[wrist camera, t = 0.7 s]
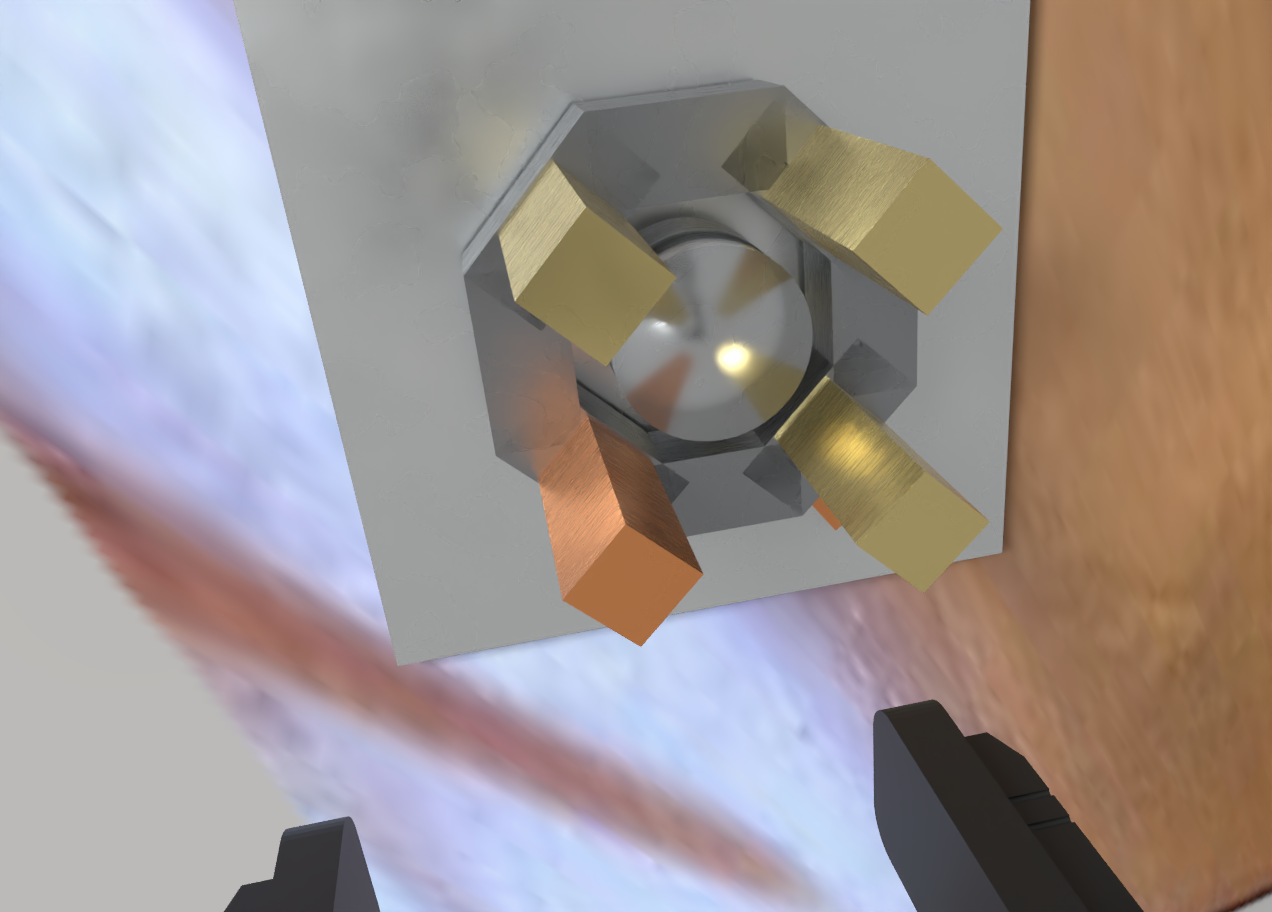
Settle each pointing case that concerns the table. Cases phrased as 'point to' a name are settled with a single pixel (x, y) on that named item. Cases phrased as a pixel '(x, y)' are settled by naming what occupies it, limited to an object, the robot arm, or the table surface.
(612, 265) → the octagonal frame
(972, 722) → the table surface
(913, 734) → the robot arm
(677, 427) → the base plate
